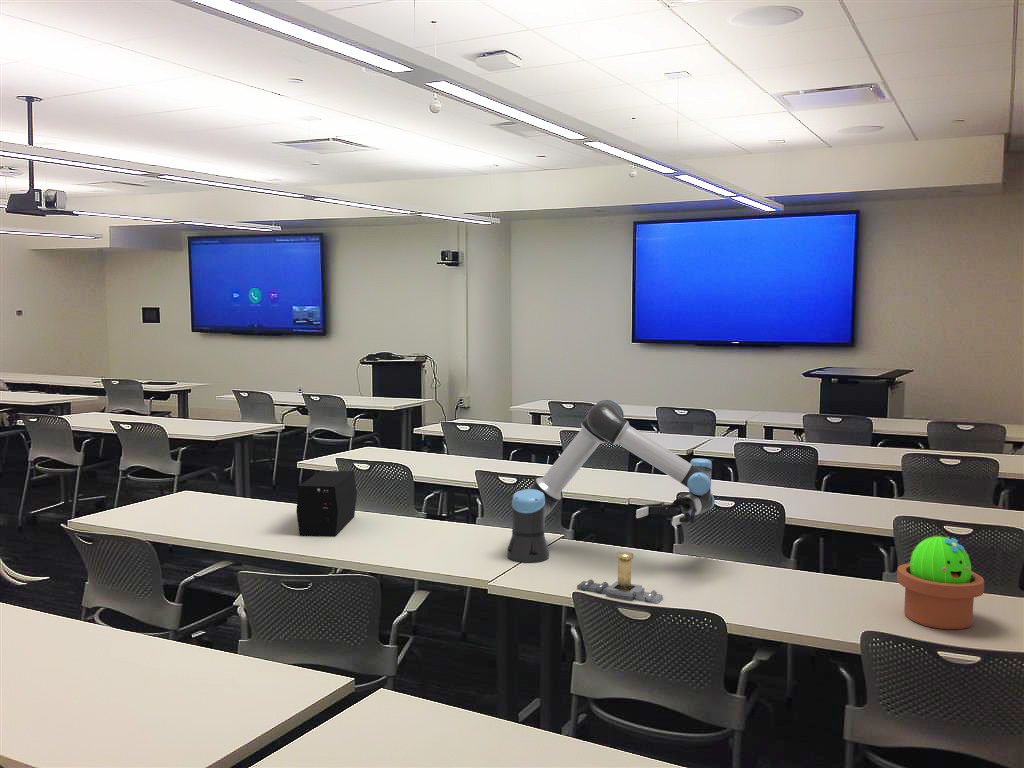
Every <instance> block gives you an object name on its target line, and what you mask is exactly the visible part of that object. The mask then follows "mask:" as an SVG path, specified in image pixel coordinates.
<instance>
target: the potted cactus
mask: <svg viewBox="0 0 1024 768" xmlns="http://www.w3.org/2000/svg"><path fill="white" fill-rule="evenodd" d="M958 542H959V541H958V540H957V539H956V538H954V537H951V538H950V537H949V536H942V535H941V534H940V535H937V534H935V535H933V536H930V537H926V538H925V539H923V540H922V541H920V542H918V544H916V546H914V549H913V551H912V552H911V556H910V561H909V562H908V563H904V564H901V565H898V567H897V570H896V571H897V574H896V581H897V583H898V584H899V585H900V586H901V587H903V588H904V591H905V592H904V604H903V605H904V607H903V608H904V609H903V610H904V611H903V612H904V615H905V616H906V617H907V619H909V620H911V621H913V622H915V623H917V624H920V625H922V626H925V627H929V628H935V629H941V630H963V629H967V628H969V627H971V626H972V624H973V617H974V616H973V615H974V602H975V601H974V600H975V598H979V597H981V596H983V595H984V592H985V580H984V579H985V578H983V577H982V576H981V575H980V574H977V573H976V572H974V571H972V569H973V566H972V564H971V563H972V562H971V560H970V554H969V553H970V552H969V553H967V551H966V550H965V547H964V546H963V545H961V544H959V543H958Z"/></svg>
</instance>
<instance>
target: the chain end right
mask: <svg viewBox="0 0 1024 768" xmlns="http://www.w3.org/2000/svg"><path fill="white" fill-rule="evenodd" d="M609 586H610V587H608V588H607V589H606V593H612V594H617V595H623V596H629V597H633V596H634V600H637V601H641V602H646V603H652V604H659V603H660V602H661V601H662V600H663V599H664V595H663V594H660V593H658V592H657V591H656V590H651V591H650V592H648V591H645V587H643V585H640V584H635V583H631V590H630V591H626V590H620V589H617V588H618V580H617V581H615V582H613V583H612V584H611V585H609Z"/></svg>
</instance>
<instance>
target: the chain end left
mask: <svg viewBox="0 0 1024 768" xmlns="http://www.w3.org/2000/svg"><path fill="white" fill-rule="evenodd" d="M610 586H611V585H609V583H608V582H606V581H603V582H602V583H597V582H595V581H594V580H593V579H592V578H591V579H589V580H587V581H585V580H583V581H581V582H580V583H578V584H577V585H576V587H577V588H576V589H577V590H581V591H583V592H584V591H586V592H592V593H597V594H603V595H606V597H607V598H608V597H609V598H613V597H615V598H614V599H620V600H625V601H631V602H633V601H634V600H635V599H634V596H633V597H629V596H623V595H617V594H612V593H606V589H607V588H608V587H610ZM617 589H618V588H617Z"/></svg>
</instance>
